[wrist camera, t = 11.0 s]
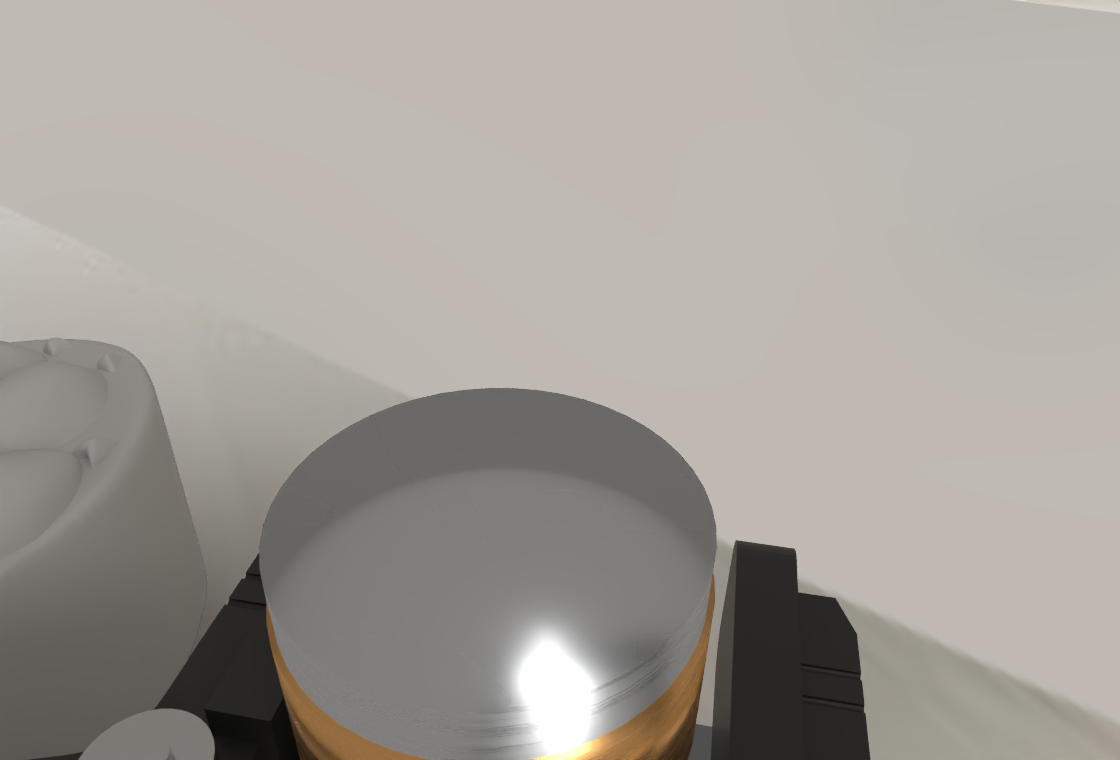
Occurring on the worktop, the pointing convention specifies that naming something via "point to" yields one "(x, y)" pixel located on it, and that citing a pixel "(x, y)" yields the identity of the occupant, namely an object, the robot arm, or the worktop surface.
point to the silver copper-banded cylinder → (491, 585)
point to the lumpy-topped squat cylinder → (88, 547)
